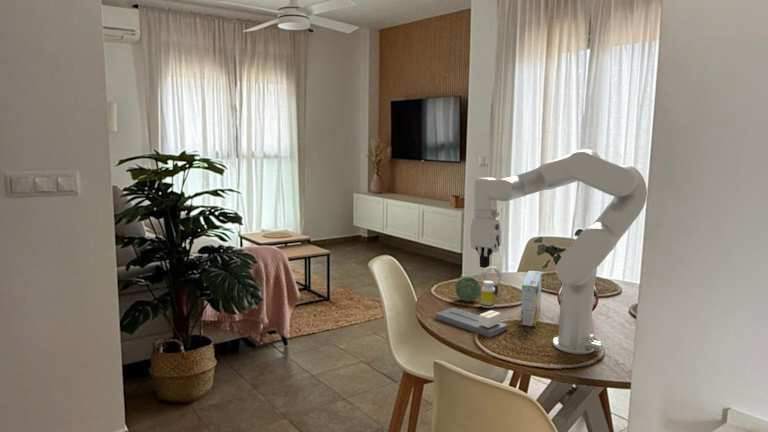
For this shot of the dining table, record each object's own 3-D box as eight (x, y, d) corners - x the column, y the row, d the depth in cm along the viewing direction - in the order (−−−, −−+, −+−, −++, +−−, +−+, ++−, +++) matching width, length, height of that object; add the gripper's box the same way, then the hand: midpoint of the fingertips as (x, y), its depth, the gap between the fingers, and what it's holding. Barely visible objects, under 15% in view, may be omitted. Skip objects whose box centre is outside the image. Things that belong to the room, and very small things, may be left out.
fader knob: (500, 322, 179) (500, 312, 178) (488, 327, 174) (488, 317, 173) (490, 319, 182) (491, 309, 181) (478, 324, 177) (479, 314, 176)
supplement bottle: (494, 308, 201) (495, 284, 199) (480, 307, 202) (481, 283, 200) (494, 304, 206) (495, 280, 205) (480, 303, 207) (481, 279, 206)
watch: (502, 293, 220) (503, 268, 218) (483, 293, 220) (484, 268, 218) (500, 290, 225) (501, 265, 223) (481, 289, 226) (482, 264, 224)
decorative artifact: (478, 299, 212) (479, 275, 210) (481, 305, 205) (482, 280, 203) (454, 299, 212) (455, 275, 210) (456, 304, 205) (457, 280, 203)
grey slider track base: (507, 330, 179) (507, 324, 178) (490, 337, 172) (490, 331, 172) (453, 312, 196) (453, 307, 196) (435, 318, 189) (435, 313, 189)
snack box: (525, 307, 203) (528, 269, 201) (540, 309, 201) (543, 271, 199) (519, 325, 184) (521, 284, 181) (535, 327, 182) (538, 286, 179)
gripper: (510, 215, 173) (509, 268, 176) (474, 211, 184) (473, 261, 187) (497, 217, 168) (496, 272, 171) (460, 213, 179) (460, 265, 182)
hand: (484, 266), depth 179 cm, fingers closed
